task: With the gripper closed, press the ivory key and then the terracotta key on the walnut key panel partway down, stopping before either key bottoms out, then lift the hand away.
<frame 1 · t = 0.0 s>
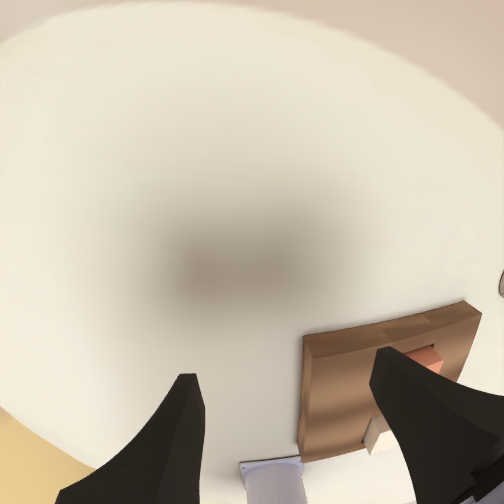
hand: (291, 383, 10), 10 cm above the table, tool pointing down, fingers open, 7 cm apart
key panel: (383, 382, 24), on the table
ivory key: (387, 427, 22), point 3 cm above the table, slide at 0.0 cm
terracotta key: (408, 374, 20), point 3 cm above the table, slide at 0.0 cm
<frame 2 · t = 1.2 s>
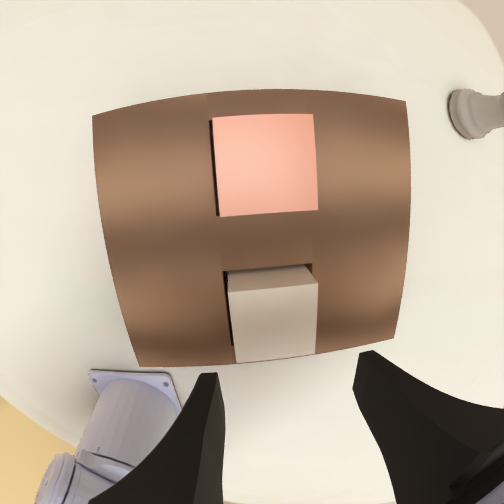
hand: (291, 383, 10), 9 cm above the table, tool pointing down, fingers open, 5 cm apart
key panel: (260, 228, 18), on the table
ivory key: (270, 310, 16), point 3 cm above the table, slide at 0.0 cm
rook chess piece: (461, 114, 16), on the table
terracotta key: (262, 163, 13), point 3 cm above the table, slide at 0.0 cm
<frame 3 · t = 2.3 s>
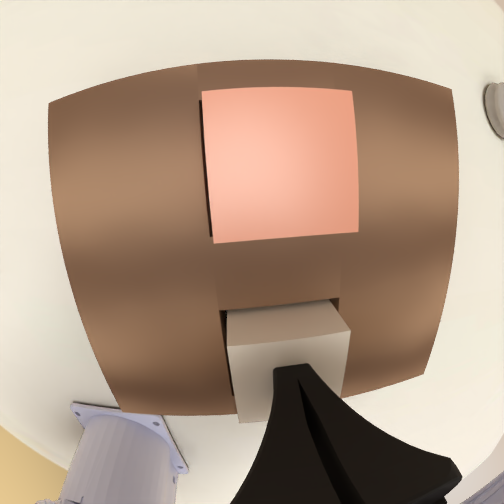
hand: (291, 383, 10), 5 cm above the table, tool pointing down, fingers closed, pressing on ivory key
key panel: (269, 247, 13), on the table
ivory key: (283, 357, 11), point 3 cm above the table, slide at 0.0 cm, touching gripper
rook chess piece: (496, 111, 12), on the table
terracotta key: (276, 162, 9), point 3 cm above the table, slide at 0.0 cm
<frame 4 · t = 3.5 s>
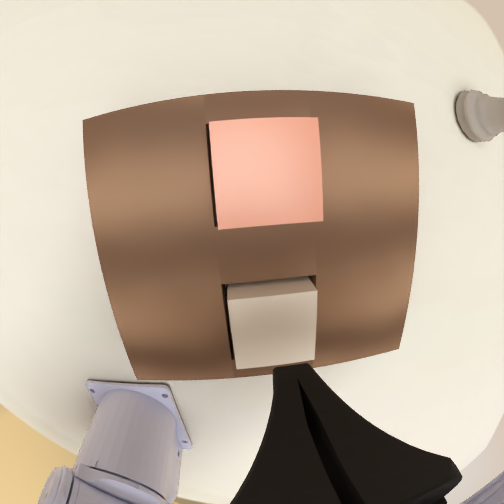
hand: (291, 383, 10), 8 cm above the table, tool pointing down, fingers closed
key panel: (261, 237, 17), on the table
ivory key: (270, 316, 16), point 3 cm above the table, slide at 0.8 cm
rook chess piece: (468, 116, 15), on the table
terracotta key: (263, 170, 12), point 3 cm above the table, slide at 0.0 cm
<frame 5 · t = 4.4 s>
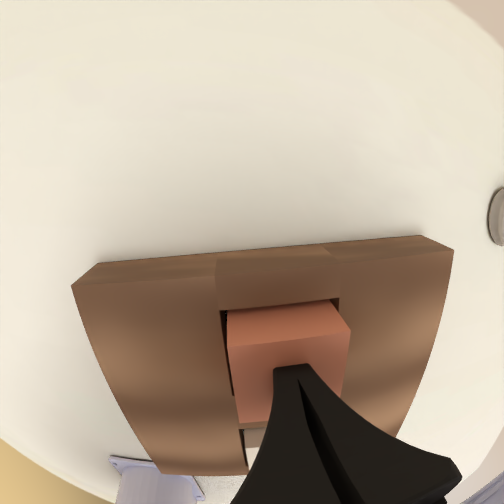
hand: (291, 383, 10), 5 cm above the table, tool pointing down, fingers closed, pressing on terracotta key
key panel: (274, 373, 16), on the table
ivory key: (281, 440, 15), point 3 cm above the table, slide at 0.8 cm
rook chess piece: (499, 215, 14), on the table
terracotta key: (283, 357, 11), point 3 cm above the table, slide at 0.0 cm, touching gripper
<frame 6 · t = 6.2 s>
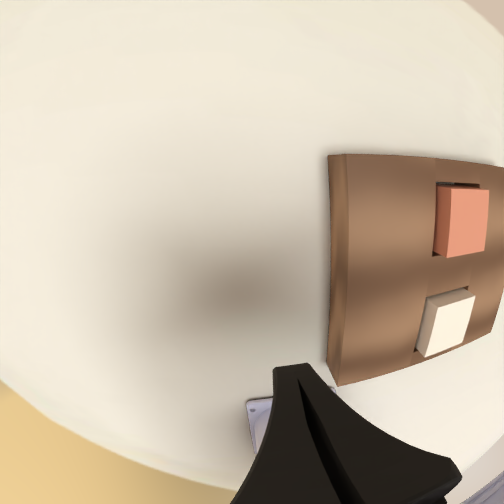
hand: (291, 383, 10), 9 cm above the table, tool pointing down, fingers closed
key panel: (429, 259, 19), on the table
ivory key: (439, 316, 18), point 3 cm above the table, slide at 0.8 cm
terracotta key: (454, 217, 16), point 3 cm above the table, slide at 0.8 cm
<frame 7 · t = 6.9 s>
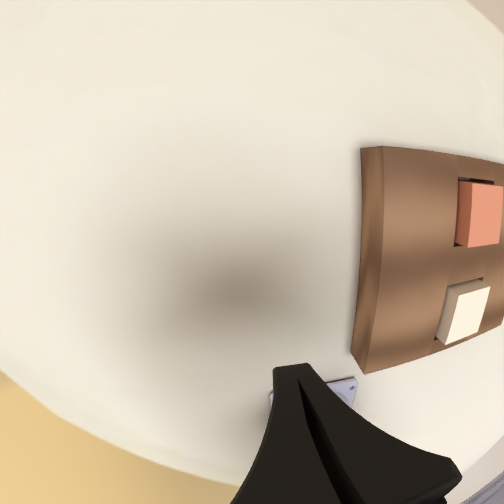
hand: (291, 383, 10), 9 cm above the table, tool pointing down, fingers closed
key panel: (447, 251, 19), on the table
ivory key: (457, 306, 18), point 3 cm above the table, slide at 0.8 cm
terracotta key: (472, 211, 16), point 3 cm above the table, slide at 0.8 cm
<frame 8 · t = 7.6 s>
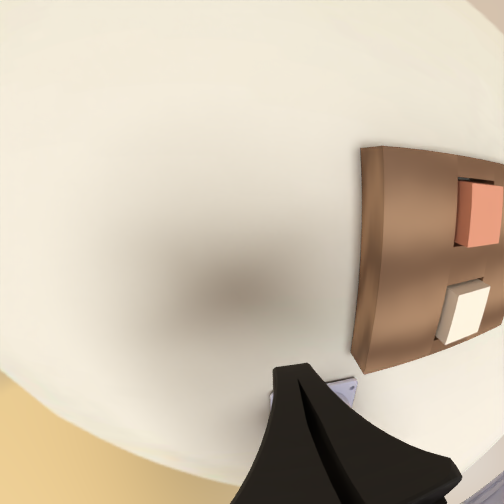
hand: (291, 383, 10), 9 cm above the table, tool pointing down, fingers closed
key panel: (447, 251, 19), on the table
ivory key: (457, 306, 18), point 3 cm above the table, slide at 0.8 cm
terracotta key: (472, 211, 16), point 3 cm above the table, slide at 0.8 cm
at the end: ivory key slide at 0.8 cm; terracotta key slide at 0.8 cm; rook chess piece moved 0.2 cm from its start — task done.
